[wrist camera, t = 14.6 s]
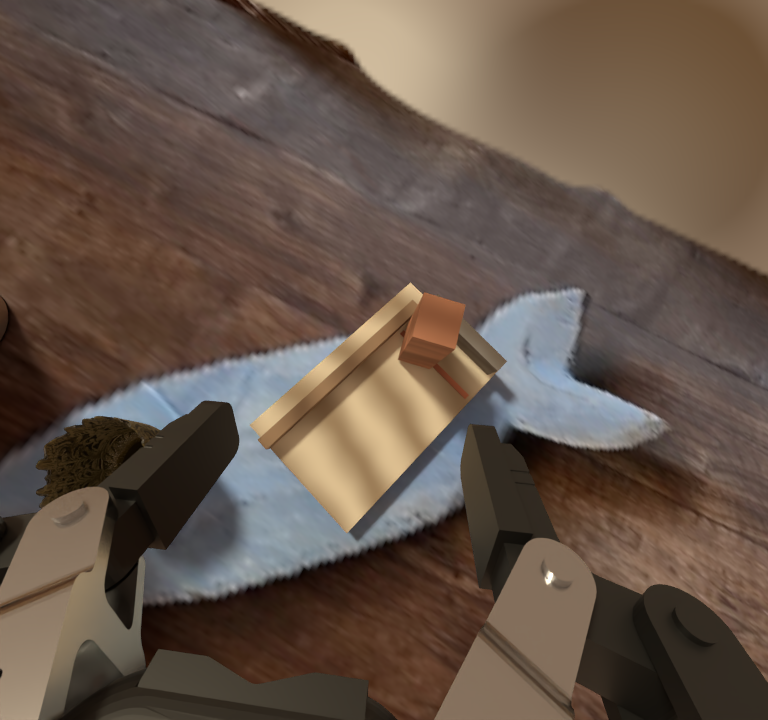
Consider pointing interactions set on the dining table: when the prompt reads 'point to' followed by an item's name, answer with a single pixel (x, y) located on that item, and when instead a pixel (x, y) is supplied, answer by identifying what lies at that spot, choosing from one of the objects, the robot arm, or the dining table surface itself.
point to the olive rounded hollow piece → (90, 454)
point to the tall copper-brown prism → (431, 331)
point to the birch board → (371, 410)
